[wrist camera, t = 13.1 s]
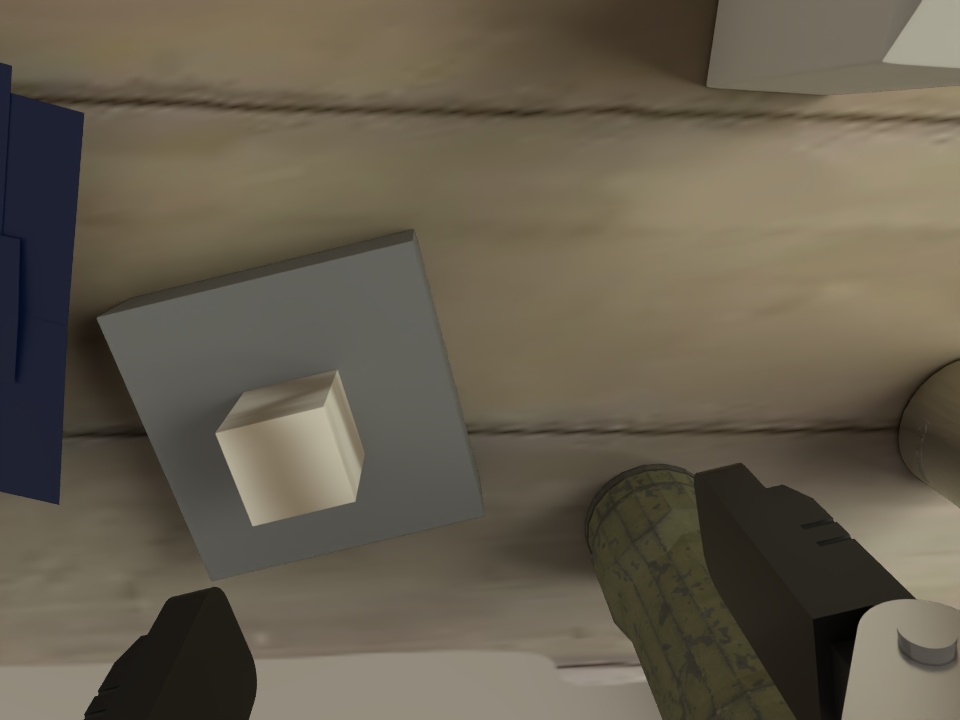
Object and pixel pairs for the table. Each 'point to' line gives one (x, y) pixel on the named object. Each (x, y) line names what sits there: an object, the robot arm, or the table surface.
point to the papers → (35, 285)
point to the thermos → (674, 600)
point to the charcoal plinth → (293, 355)
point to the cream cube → (293, 448)
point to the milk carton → (835, 45)
